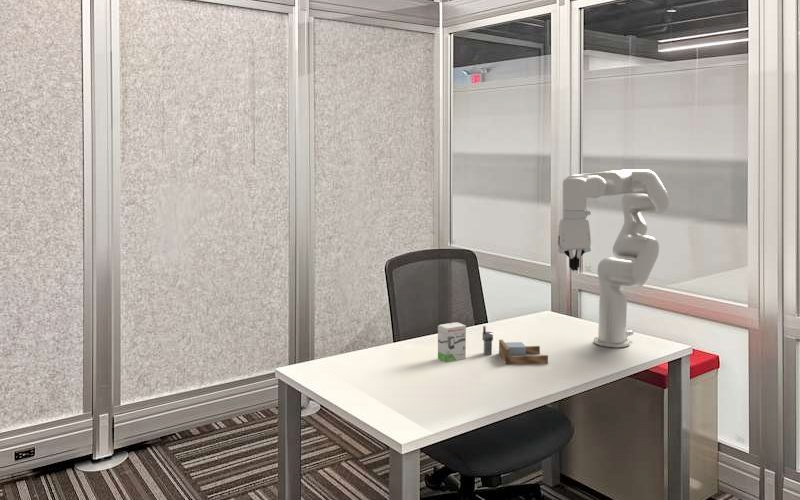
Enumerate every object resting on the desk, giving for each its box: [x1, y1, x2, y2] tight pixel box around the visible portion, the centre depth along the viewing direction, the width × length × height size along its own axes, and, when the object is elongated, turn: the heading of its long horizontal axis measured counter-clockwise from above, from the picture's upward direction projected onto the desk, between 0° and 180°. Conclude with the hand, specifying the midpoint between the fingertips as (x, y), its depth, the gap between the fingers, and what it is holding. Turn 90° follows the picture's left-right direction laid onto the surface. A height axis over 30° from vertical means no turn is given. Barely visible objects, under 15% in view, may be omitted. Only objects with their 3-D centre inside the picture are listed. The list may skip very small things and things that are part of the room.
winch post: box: [482, 325, 494, 356], centre depth 232 cm, size 4×4×10 cm
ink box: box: [437, 321, 467, 363], centre depth 226 cm, size 9×5×12 cm, turn 120°
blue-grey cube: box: [505, 341, 527, 356], centre depth 226 cm, size 6×6×5 cm
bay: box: [498, 339, 549, 365], centre depth 226 cm, size 14×12×5 cm
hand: (574, 269), depth 224 cm, fingers closed
